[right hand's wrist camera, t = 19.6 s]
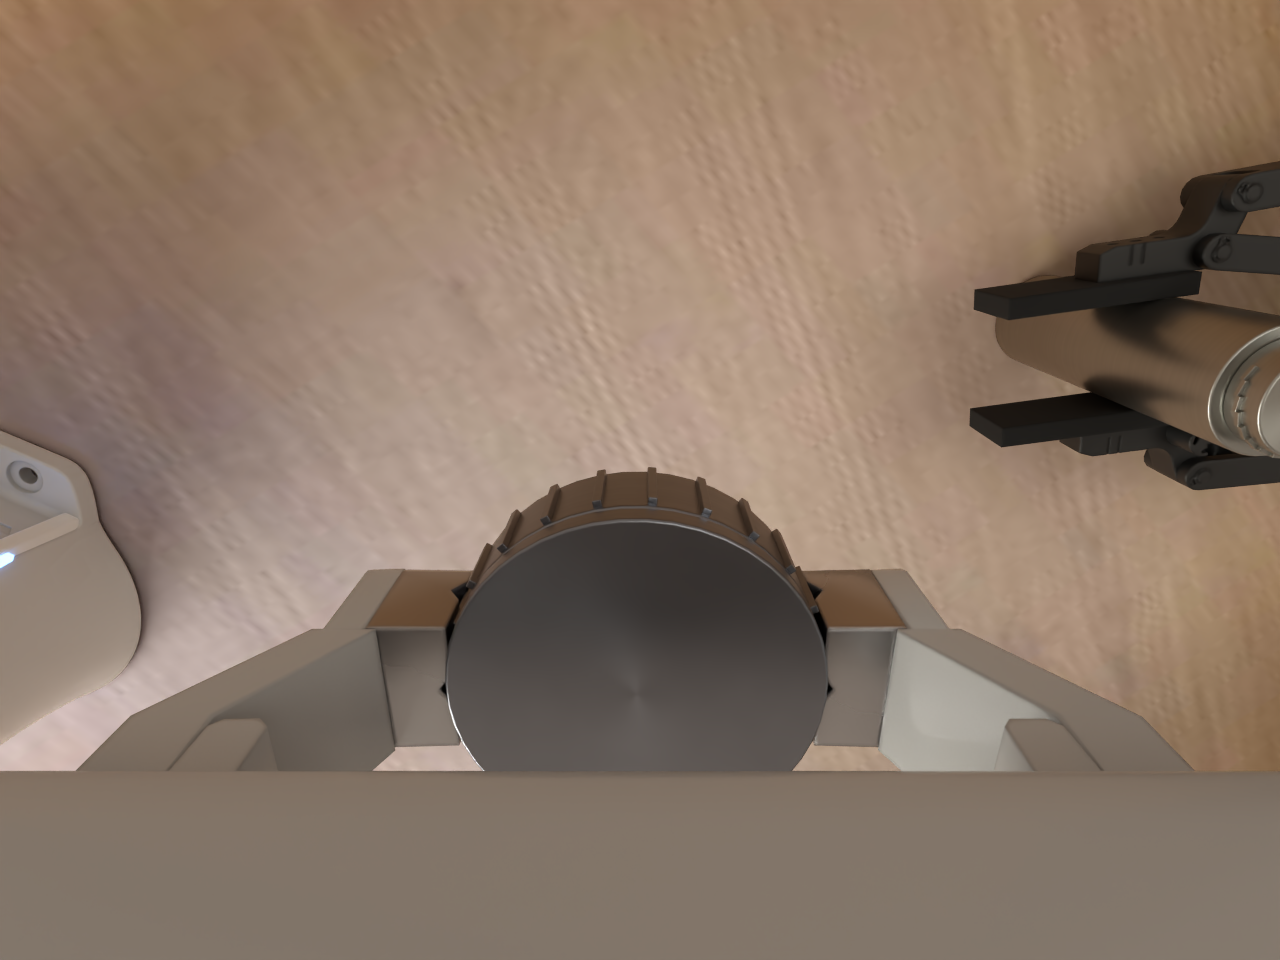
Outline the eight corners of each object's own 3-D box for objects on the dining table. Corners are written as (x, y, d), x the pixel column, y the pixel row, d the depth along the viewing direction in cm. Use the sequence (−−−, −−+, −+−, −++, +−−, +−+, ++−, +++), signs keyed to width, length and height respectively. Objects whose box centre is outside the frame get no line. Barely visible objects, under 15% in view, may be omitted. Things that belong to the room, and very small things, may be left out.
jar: (977, 342, 33) (1213, 440, 19) (1027, 260, 31) (1317, 304, 18) (1048, 375, 33) (1325, 492, 20) (1100, 296, 32) (1435, 365, 19)
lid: (868, 661, 10) (905, 735, 9) (599, 804, 11) (593, 891, 10) (687, 394, 9) (695, 431, 7) (398, 585, 10) (354, 651, 8)
